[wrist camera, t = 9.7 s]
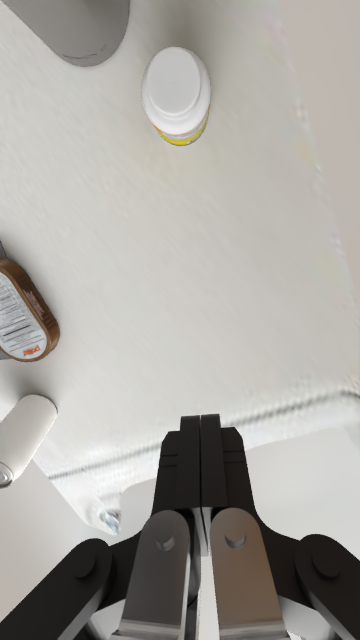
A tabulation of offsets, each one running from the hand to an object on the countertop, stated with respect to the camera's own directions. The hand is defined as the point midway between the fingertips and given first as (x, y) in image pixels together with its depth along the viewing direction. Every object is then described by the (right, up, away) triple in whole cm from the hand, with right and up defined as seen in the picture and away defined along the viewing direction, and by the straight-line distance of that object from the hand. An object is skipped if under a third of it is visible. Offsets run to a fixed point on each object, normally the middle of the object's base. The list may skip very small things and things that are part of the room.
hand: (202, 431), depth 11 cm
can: (-24, -10, +36) cm, 45 cm away
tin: (-20, +7, +26) cm, 33 cm away
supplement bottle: (-1, +26, +18) cm, 32 cm away
